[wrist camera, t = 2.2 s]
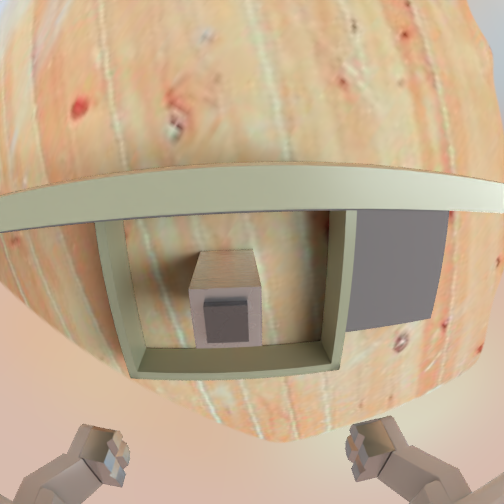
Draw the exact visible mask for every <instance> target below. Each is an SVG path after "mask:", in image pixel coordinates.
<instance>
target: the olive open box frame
mask: <svg viewBox="0 0 504 504" xmlns="http://www.w3.org/2000/svg"><path fill="white" fill-rule="evenodd" d="M357 210H371V211H433V212H441V210H449V211H471V212H489V213H504V183H500V182H495V181H490V180H485V179H480V178H474V177H468V176H462V175H456V174H450V173H443V172H436V171H428V170H421V169H412V168H403V167H393V166H383V165H371V164H357V163H335V162H237V163H215V164H198V165H184V166H172V167H161V168H151V169H141V170H133V171H124V172H117V173H109V174H102V175H95V176H89V177H83V178H77V179H72V180H66V181H61V182H56V183H51V184H46V185H42V186H37V187H32V188H28V189H24V190H20V191H15V192H11V193H7V194H4V195H0V233H4V232H12V231H20V230H28V229H36V228H45V227H54V226H63V225H73V224H83V223H94V222H95V230H96V237H97V243H98V249H99V255H100V261H101V266H102V272H103V277H104V282H105V286H106V291H107V295H108V300H109V304H110V308H111V312H112V316H113V320H114V324H115V328H116V332H117V335H118V339H119V342H120V346H121V349H122V353H123V356H124V359H125V362H126V365H127V368H128V372H129V375H130V378H135V379H153V380H237V379H256V378H270V377H282V376H292V375H302V374H310V373H318V372H326V371H333V370H339V368H340V362H341V356H342V350H343V344H344V338H345V331H346V324H347V317H348V309H349V301H350V293H351V284H352V274H353V263H354V252H355V238H356V221H357ZM282 211H330V213H329V240H328V260H327V276H326V289H325V302H324V313H323V324H322V333H321V341H313V342H303V343H292V344H280V345H267V346H253V347H234V348H199V349H196V348H184V349H175V348H146V345H145V341H144V336H143V332H142V328H141V323H140V319H139V314H138V309H137V305H136V300H135V295H134V289H133V284H132V278H131V272H130V266H129V260H128V253H127V247H126V239H125V232H124V224H123V220H129V219H142V218H156V217H171V216H187V215H206V214H226V213H251V212H282Z"/></svg>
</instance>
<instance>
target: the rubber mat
mask: <svg viewBox="0 0 504 504" xmlns="http://www.w3.org/2000/svg"><path fill="white" fill-rule="evenodd" d="M448 217H449V210H441V212H433V211H371V210H357V221H356V238H355V252H354V263H353V274H352V284H351V293H350V301H349V309H348V317H347V324H346V331H345V332H349V331H357V330H364V329H371V328H377V327H384V326H390V325H396V324H402V323H408V322H413V321H418V320H424V319H429V318H431V314H432V310H433V306H434V302H435V297H436V293H437V288H438V283H439V278H440V273H441V268H442V262H443V256H444V249H445V242H446V235H447V227H448Z"/></svg>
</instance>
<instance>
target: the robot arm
mask: <svg viewBox="0 0 504 504" xmlns="http://www.w3.org/2000/svg"><path fill="white" fill-rule="evenodd" d="M350 433H351V435H350V436H348V437H347V440H346V448H345V449H346V455H347V457H348V460H350V461H351V462H353V463H354V464H353V466H352V468H351V469H352V472H353V475H354V478H355V481H356V482H359V481H363V480H367V479H372V478H375V477H378V479H379V480H380V481H382V482H383V483H384V484H386V485H387V486H388V487H390V488H391V489H392V490H394V491H395V492H397V493H398V494H399V495H400V496H402V497H403V498H405V499H406V500H407V501H409V502H410V503H409V504H504V472H503V473H501V474H500V475H499V476H497V477H496V478H494V479H493V480H491V481H490V482H488V483H487V484H485V485H484V486H482V487H480V488H479V489H477V490H476V491H474V492H471V490H470V488H469V487H468V484H467V483H466V481H465V479H464V477H463V476H462V474H461V472H460V471H459V469H458V468H456V467H454V466H452V465H450V464H448V463H446V462H444V461H442V460H440V459H438V458H436V457H434V456H432V455H430V454H428V453H426V452H424V451H422V450H420V449H418V448H417V447H415V446H413V445H412V446H409V445H408V444H407V441H406V440H405V438H404V436H403V434H402V432H401V430H400V429H399V427H398V425H397V423H396V421H395V420H394V418H393V417H392V416H387V417H383V418H379V419H374V420H369V421H365V422H361V423H357V424H353V425H352V426H351V427H350ZM122 438H123V436H122V434H121V432H120V431H117V430H111V429H105V428H100V427H96V426H91V425H86V424H82V425H81V426H80V427H79V429H78V431H77V433H76V435H75V438H74V440H73V442H72V444H71V446H70V448H69V451H68V453H67V454H62V455H61V456H59V457H57V458H56V459H54V460H53V461H51V462H49V463H48V464H46V465H44V466H43V467H41V468H40V469H38V470H36V471H35V472H33V473H31V474H30V475H28V476H26V477H25V478H24V479H23V481H22V483H21V485H20V487H19V489H18V491H17V494H16V496H15V498H14V500H13V501H11V500H9V499H7V498H6V497H4V496H2V495H1V494H0V504H81V503H82V502H83V501H85V500H86V499H87V498H88V497H89V496H90V495H91V494H93V493H94V492H95V491H96V490H97V489H98V488H99V487H100V486H101V485H102V484H107V485H112V486H117V487H122V486H123V482H124V479H125V475H126V474H125V472H124V470H123V469H124V468H125V467H126V466H128V463H129V460H130V451H129V447H128V445H127V443H125V442H124V441H122Z"/></svg>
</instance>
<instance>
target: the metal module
mask: <svg viewBox="0 0 504 504" xmlns="http://www.w3.org/2000/svg"><path fill="white" fill-rule="evenodd" d="M188 291H189V299H190V307H191V315H192V322H193V329H194V336H195V343H196V349H199V348H234V347H253V346H262V299H261V283H260V278H259V274H258V270H257V265H256V261H255V257H254V252H253V249H242V250H219V251H201V252H200V255H199V258H198V261H197V264H196V267H195V270H194V273H193V276H192V279H191V283H190V286H189V289H188Z"/></svg>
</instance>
